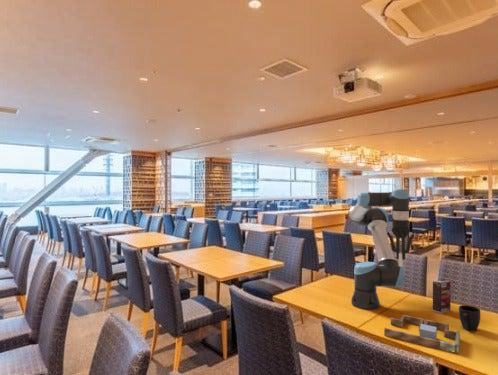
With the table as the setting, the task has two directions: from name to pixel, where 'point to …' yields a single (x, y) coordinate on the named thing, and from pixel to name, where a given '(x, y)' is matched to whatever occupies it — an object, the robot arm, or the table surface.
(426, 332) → the block
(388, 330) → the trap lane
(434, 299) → the supplement box
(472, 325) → the mug
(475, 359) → the table surface
